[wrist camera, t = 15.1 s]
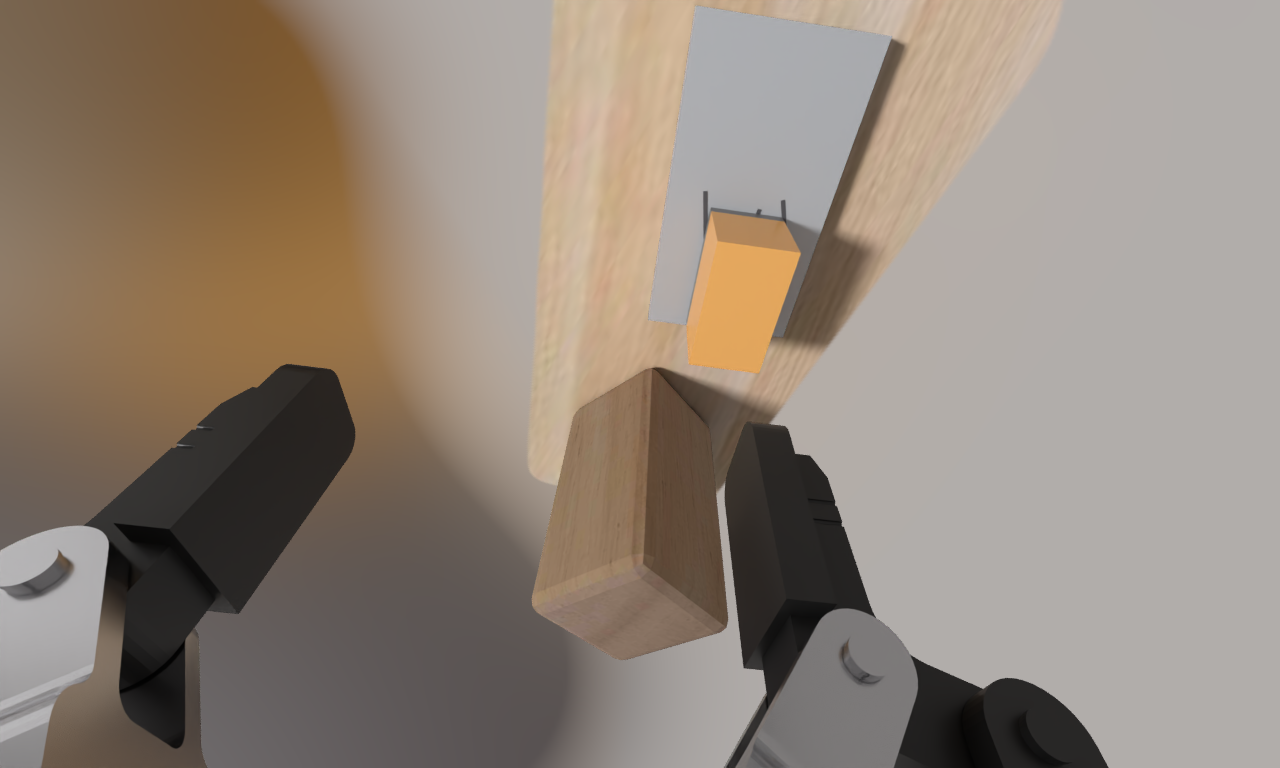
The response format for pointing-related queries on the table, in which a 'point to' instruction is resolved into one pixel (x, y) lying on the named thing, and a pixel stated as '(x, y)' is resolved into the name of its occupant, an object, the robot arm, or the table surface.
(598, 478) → the block
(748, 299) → the block
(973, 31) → the table surface
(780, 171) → the board
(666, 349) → the table surface
